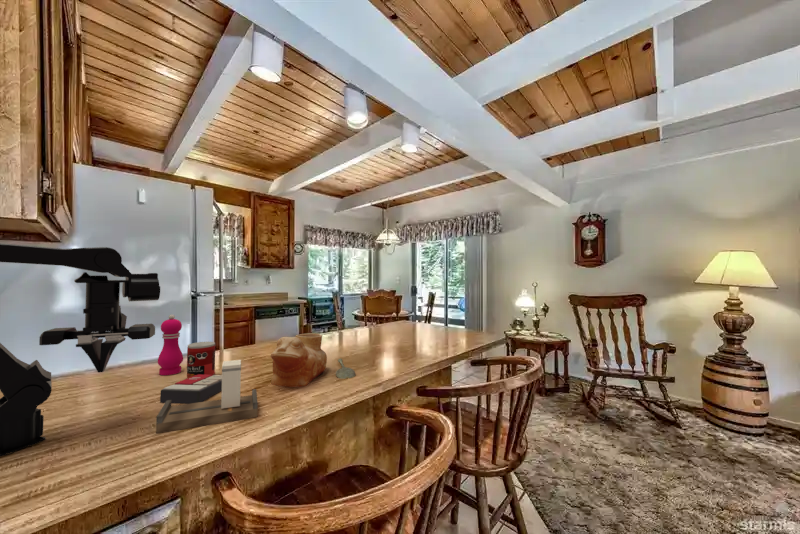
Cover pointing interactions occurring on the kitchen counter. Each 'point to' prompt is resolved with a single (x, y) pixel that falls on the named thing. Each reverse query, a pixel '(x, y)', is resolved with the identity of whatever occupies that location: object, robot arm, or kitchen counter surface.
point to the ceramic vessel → (298, 360)
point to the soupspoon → (344, 371)
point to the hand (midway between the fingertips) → (101, 371)
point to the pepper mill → (170, 347)
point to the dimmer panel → (204, 413)
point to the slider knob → (231, 383)
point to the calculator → (192, 389)
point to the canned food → (201, 359)
